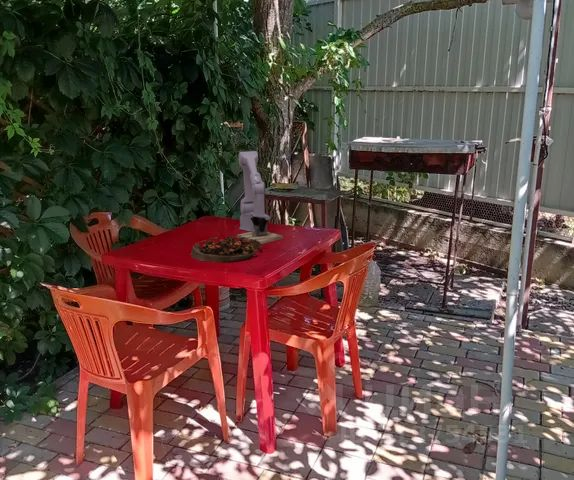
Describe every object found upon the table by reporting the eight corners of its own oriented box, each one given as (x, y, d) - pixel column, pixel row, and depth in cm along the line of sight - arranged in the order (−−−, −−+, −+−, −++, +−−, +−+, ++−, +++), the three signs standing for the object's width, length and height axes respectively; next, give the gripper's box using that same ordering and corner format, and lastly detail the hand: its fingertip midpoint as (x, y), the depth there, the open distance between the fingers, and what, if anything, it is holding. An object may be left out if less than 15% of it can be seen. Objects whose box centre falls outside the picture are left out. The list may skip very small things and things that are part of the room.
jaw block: (253, 234, 312) (253, 225, 311) (262, 232, 316) (262, 223, 315) (258, 235, 309) (258, 226, 308) (267, 233, 313) (267, 224, 312)
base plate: (237, 237, 315) (236, 227, 313) (259, 232, 325) (259, 222, 324) (259, 244, 301) (259, 233, 300) (282, 238, 312) (282, 228, 310)
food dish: (250, 243, 308) (250, 229, 306) (271, 261, 278) (271, 245, 276) (183, 248, 295) (183, 233, 293) (198, 268, 266) (198, 251, 264)
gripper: (244, 205, 311) (245, 230, 315) (262, 209, 301) (262, 234, 304) (254, 203, 316) (255, 227, 319) (272, 207, 306) (273, 232, 309)
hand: (259, 231), depth 312 cm, fingers closed on jaw block, 4 cm apart
